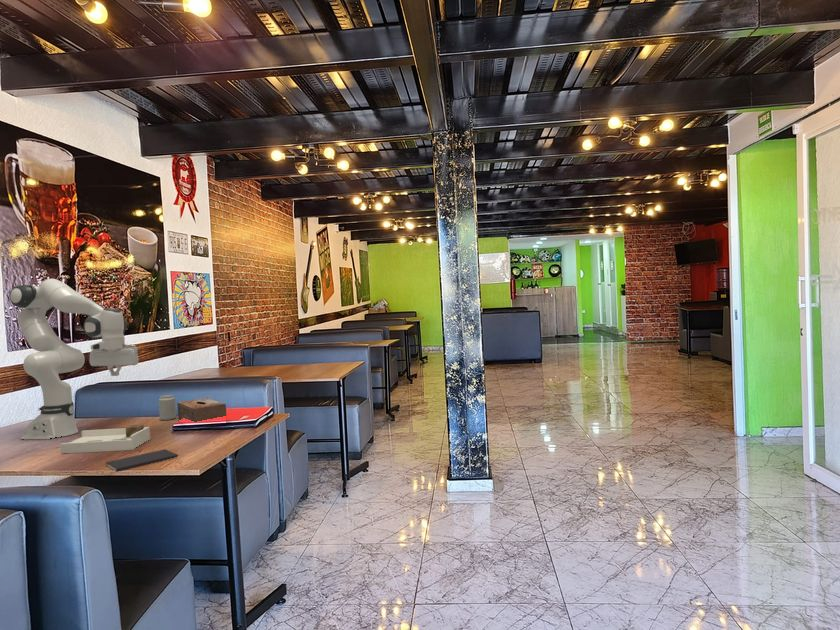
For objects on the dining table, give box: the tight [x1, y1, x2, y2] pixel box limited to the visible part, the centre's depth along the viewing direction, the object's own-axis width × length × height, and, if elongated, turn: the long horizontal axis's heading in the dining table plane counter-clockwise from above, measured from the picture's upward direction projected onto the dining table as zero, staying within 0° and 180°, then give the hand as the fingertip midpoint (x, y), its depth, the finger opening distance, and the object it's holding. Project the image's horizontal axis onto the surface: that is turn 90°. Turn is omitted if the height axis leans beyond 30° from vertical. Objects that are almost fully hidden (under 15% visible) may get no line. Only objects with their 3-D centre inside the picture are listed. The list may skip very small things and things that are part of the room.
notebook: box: [105, 449, 179, 472], centre depth 209 cm, size 13×2×21 cm
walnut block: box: [125, 424, 144, 437], centre depth 238 cm, size 5×5×4 cm
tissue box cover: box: [176, 397, 227, 422], centre depth 271 cm, size 26×14×10 cm, turn 39°
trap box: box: [59, 426, 151, 454], centre depth 234 cm, size 28×16×6 cm, turn 92°
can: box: [158, 394, 177, 422], centre depth 284 cm, size 8×8×12 cm
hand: (115, 375), depth 253 cm, fingers closed
